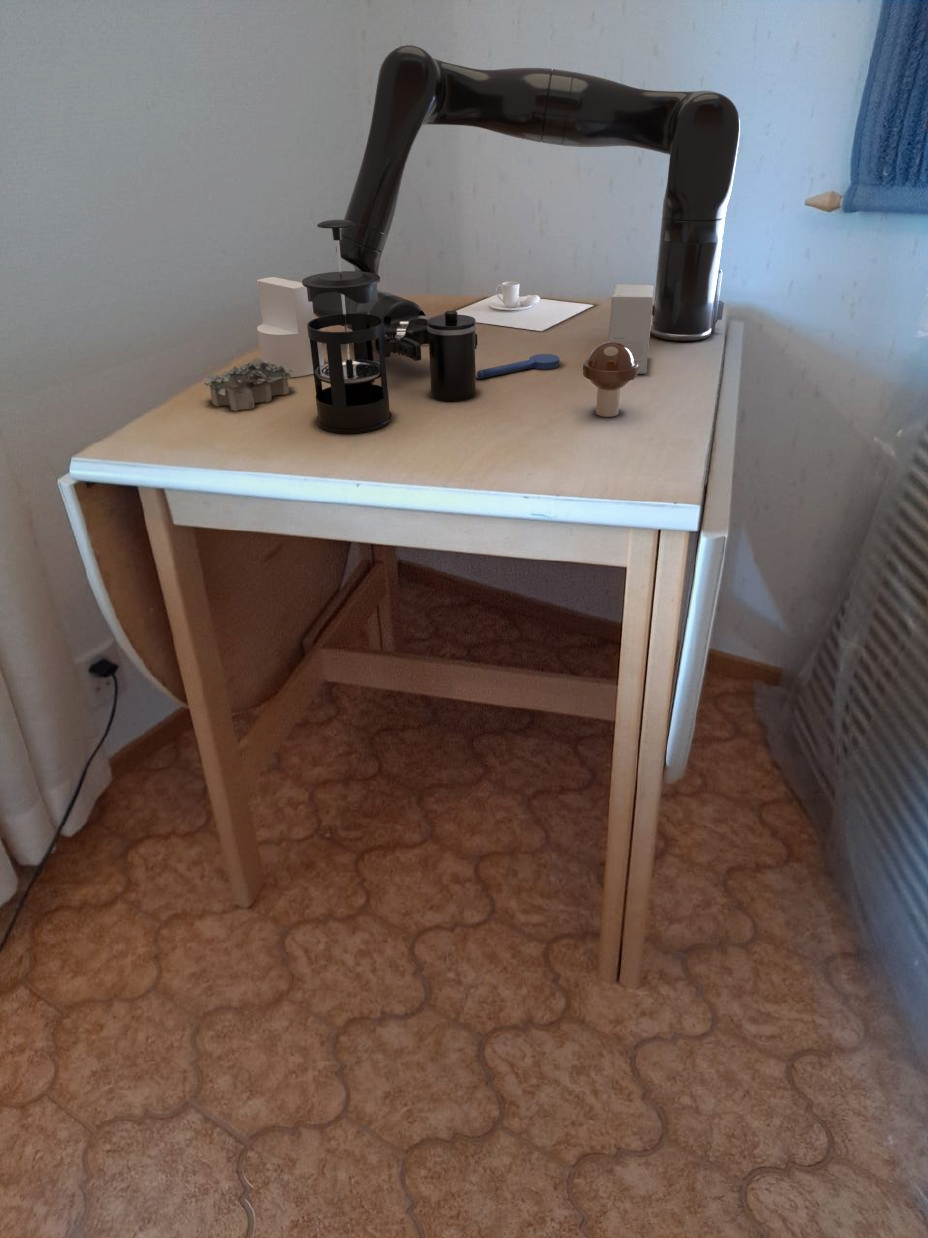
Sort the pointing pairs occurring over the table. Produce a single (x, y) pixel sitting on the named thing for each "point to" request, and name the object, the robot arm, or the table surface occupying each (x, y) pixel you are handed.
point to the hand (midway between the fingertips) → (447, 347)
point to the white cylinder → (286, 325)
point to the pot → (452, 356)
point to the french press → (352, 389)
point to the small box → (632, 320)
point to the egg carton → (248, 385)
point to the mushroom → (609, 374)
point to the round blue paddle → (522, 365)
